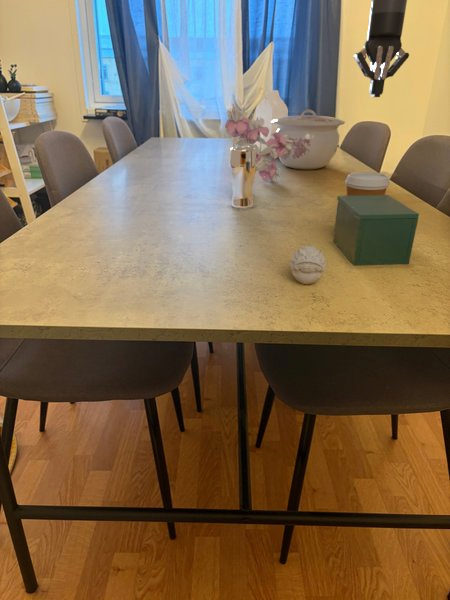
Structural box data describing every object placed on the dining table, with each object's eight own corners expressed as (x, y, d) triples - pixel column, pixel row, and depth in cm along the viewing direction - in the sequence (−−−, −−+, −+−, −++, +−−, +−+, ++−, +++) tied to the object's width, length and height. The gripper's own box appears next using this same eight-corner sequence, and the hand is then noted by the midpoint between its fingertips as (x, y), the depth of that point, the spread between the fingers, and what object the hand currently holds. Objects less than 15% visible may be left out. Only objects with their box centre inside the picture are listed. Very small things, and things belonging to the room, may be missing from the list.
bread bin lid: (337, 199, 89) (337, 195, 89) (387, 198, 90) (387, 194, 89) (360, 219, 77) (360, 215, 76) (418, 218, 77) (419, 213, 77)
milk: (270, 147, 215) (272, 89, 203) (287, 150, 207) (290, 90, 195) (252, 150, 208) (254, 90, 196) (269, 153, 200) (272, 90, 188)
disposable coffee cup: (387, 226, 101) (396, 174, 96) (373, 237, 95) (382, 182, 89) (348, 219, 106) (354, 169, 101) (332, 229, 99) (339, 176, 94)
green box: (333, 241, 93) (337, 200, 89) (381, 239, 93) (388, 199, 89) (353, 265, 81) (360, 219, 77) (408, 264, 81) (418, 218, 77)
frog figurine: (287, 291, 71) (290, 251, 68) (288, 274, 77) (291, 237, 74) (325, 293, 70) (329, 253, 67) (323, 276, 76) (327, 238, 73)
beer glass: (250, 209, 115) (252, 150, 108) (226, 207, 117) (226, 149, 110) (257, 203, 120) (259, 147, 114) (234, 201, 123) (234, 145, 116)
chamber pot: (343, 174, 156) (350, 112, 146) (266, 172, 159) (269, 111, 150) (337, 161, 180) (343, 107, 171) (271, 159, 184) (274, 106, 175)
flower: (295, 189, 129) (303, 105, 128) (220, 181, 128) (227, 96, 127) (283, 202, 149) (289, 129, 148) (218, 196, 148) (224, 122, 147)
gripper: (364, 9, 94) (353, 97, 102) (423, 10, 94) (408, 97, 102) (353, 14, 100) (344, 96, 108) (408, 14, 101) (395, 96, 109)
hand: (375, 96), depth 105 cm, fingers closed
